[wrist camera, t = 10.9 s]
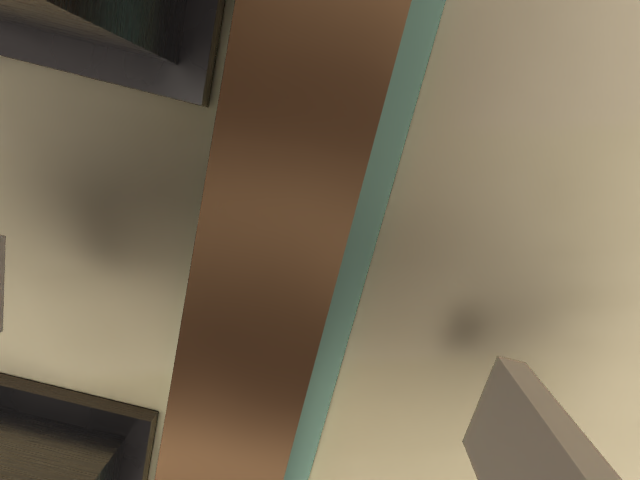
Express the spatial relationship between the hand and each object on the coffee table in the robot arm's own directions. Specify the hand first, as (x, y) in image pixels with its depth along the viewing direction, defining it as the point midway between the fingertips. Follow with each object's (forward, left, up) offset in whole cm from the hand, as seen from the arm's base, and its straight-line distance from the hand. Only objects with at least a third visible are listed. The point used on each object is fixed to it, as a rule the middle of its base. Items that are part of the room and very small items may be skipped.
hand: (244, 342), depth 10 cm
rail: (+1, 0, -4) cm, 4 cm away
